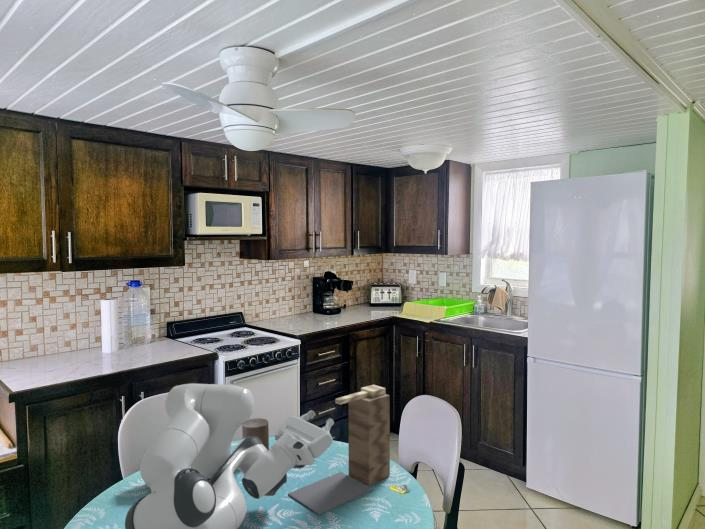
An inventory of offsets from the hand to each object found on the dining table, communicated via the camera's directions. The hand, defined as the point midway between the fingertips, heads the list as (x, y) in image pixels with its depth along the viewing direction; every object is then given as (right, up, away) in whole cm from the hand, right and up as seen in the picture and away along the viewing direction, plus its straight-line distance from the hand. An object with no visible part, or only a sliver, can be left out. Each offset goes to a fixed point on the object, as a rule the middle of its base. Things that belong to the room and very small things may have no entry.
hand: (322, 416), depth 150 cm
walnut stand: (+15, -25, +15) cm, 33 cm away
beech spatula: (+12, +3, +11) cm, 17 cm away
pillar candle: (-27, -25, +29) cm, 46 cm away
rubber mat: (+2, -26, +4) cm, 26 cm away
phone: (-11, -25, +29) cm, 40 cm away
